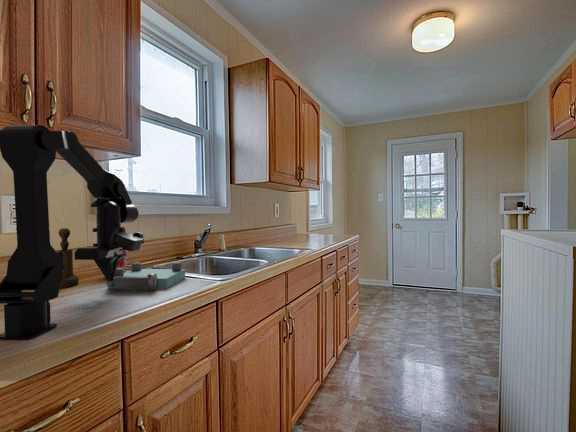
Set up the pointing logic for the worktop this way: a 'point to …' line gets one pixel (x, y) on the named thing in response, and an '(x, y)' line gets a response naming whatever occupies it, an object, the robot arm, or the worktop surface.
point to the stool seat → (163, 275)
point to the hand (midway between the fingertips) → (110, 280)
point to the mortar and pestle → (67, 261)
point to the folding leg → (134, 282)
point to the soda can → (124, 261)
